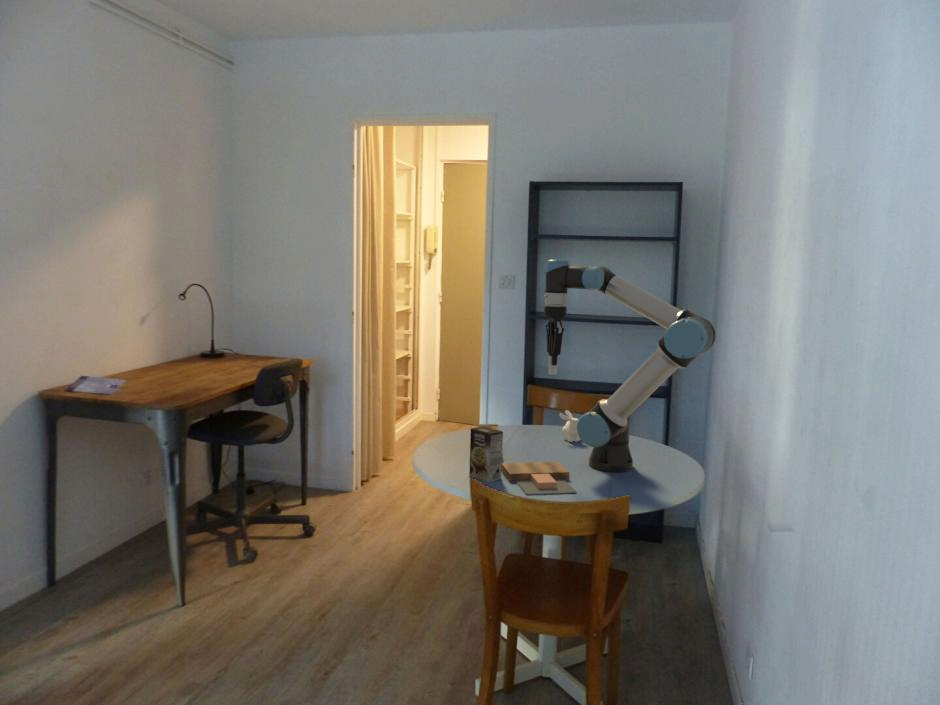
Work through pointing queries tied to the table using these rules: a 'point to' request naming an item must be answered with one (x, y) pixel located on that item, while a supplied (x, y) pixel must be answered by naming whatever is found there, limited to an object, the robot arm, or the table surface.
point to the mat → (533, 490)
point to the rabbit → (570, 427)
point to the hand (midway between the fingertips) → (552, 374)
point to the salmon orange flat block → (543, 481)
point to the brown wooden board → (533, 470)
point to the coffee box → (486, 453)
